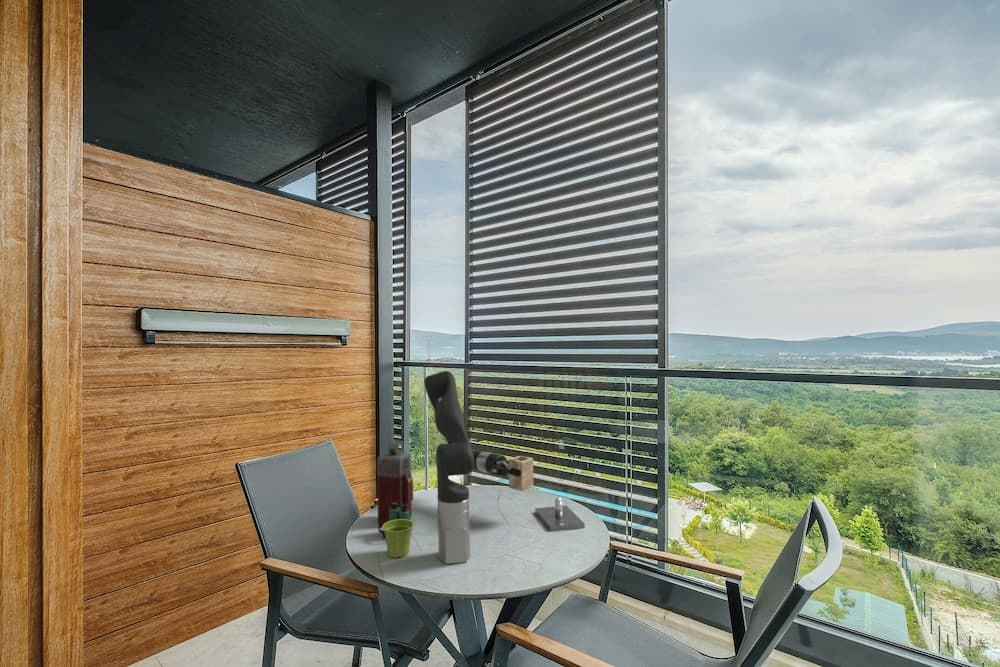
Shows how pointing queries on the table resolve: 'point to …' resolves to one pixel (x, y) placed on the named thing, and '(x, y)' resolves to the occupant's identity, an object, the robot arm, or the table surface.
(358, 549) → the table surface
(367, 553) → the table surface
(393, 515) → the binoculars
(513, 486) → the wooden sleeve
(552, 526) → the post plate
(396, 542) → the plant pot
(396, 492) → the dark red bottle
